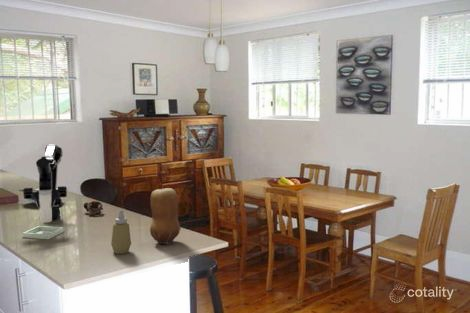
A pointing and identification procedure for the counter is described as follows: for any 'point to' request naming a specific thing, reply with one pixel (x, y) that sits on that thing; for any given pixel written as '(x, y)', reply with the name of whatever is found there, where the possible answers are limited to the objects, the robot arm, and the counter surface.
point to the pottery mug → (93, 207)
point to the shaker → (45, 205)
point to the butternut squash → (164, 215)
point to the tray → (39, 230)
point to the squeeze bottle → (121, 235)
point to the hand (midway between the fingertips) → (45, 207)
